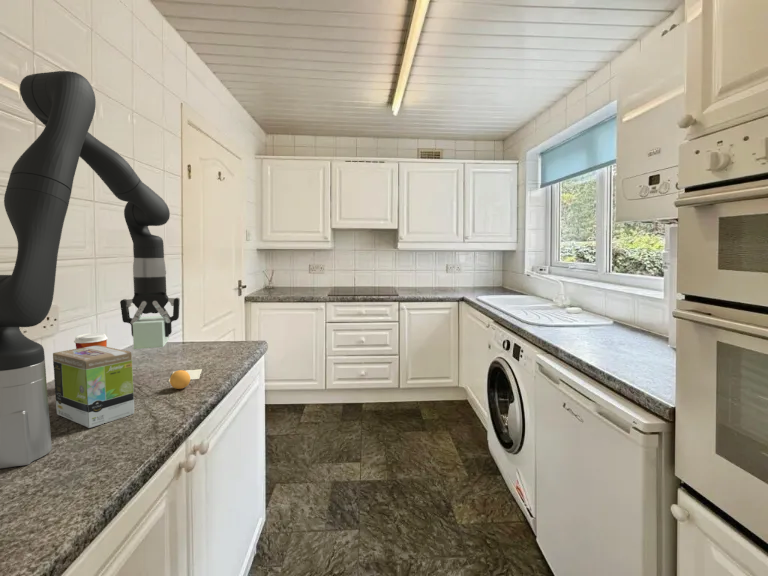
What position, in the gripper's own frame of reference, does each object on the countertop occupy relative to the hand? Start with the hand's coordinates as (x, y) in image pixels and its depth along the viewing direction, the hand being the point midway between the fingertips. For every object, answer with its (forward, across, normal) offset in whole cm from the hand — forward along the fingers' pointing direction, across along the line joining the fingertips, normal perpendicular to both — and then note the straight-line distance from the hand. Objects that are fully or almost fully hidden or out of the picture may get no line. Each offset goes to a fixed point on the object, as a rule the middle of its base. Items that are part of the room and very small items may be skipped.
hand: (152, 337), depth 112 cm
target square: (+14, +7, +10) cm, 18 cm away
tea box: (+15, -10, -15) cm, 23 cm away
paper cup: (+14, -16, +9) cm, 23 cm away
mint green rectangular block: (+2, 0, 0) cm, 2 cm away
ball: (+12, +7, -2) cm, 14 cm away
